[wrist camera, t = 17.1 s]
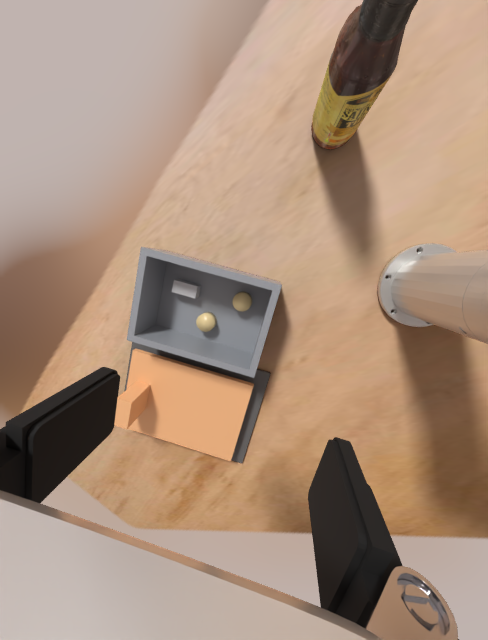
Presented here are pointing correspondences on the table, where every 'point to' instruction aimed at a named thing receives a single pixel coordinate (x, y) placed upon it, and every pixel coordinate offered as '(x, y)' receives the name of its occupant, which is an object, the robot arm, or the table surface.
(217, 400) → the lid
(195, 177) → the table surface
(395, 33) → the sauce bottle
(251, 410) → the mat
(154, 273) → the tub
